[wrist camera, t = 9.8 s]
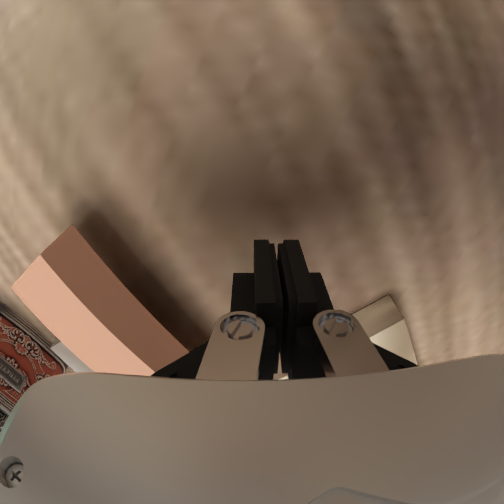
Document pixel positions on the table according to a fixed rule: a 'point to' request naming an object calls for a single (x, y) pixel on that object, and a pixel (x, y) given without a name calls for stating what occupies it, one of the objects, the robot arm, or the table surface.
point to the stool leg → (94, 310)
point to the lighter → (22, 359)
